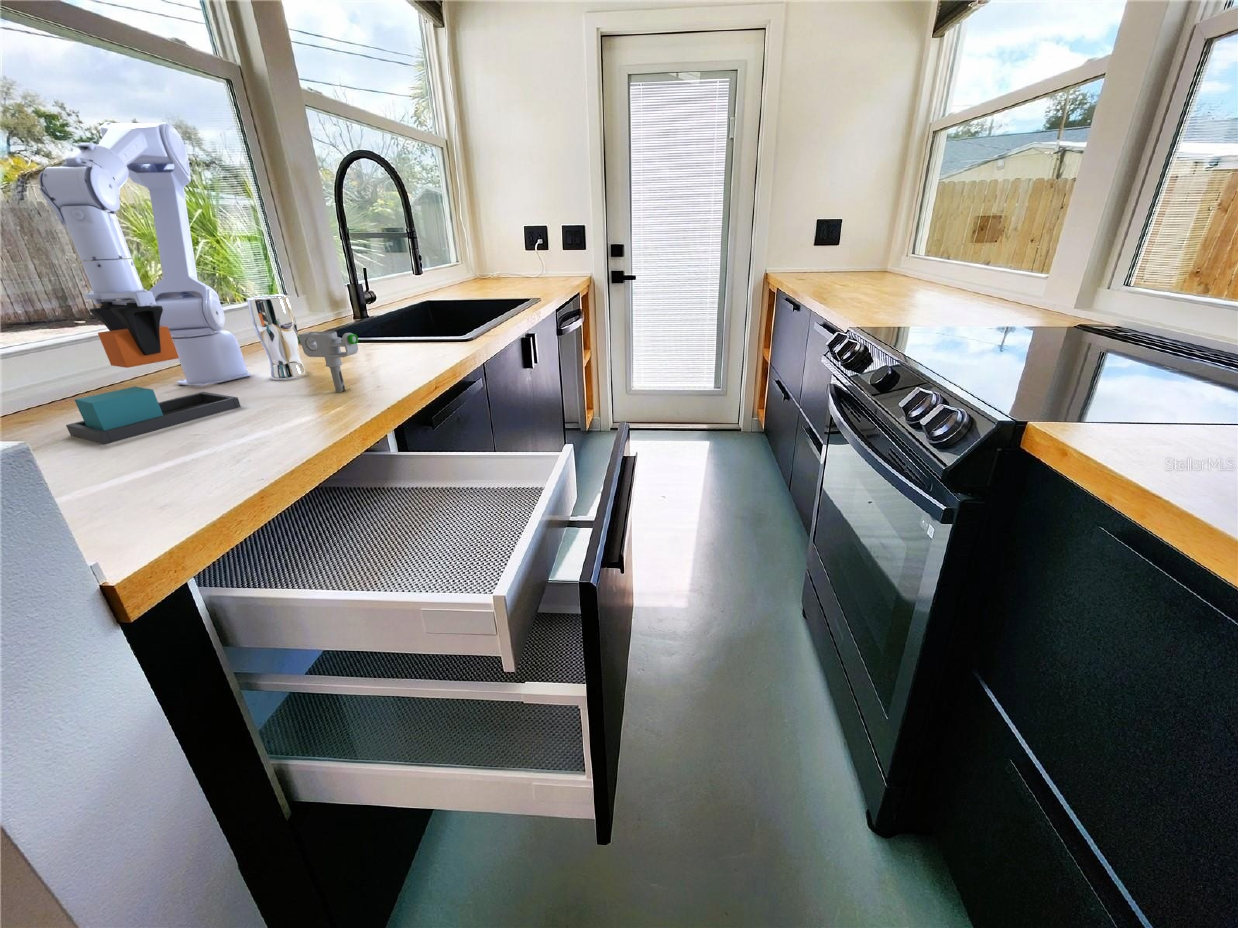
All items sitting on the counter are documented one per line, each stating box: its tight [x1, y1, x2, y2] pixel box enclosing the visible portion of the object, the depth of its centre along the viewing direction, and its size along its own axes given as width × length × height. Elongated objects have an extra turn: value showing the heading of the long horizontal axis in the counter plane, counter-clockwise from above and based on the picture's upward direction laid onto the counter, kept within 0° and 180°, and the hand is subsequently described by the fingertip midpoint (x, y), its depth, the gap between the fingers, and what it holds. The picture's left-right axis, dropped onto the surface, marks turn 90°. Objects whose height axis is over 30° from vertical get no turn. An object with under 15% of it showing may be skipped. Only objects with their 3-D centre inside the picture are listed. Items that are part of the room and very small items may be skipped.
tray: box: [65, 391, 241, 446], centre depth 79 cm, size 18×10×2 cm, turn 153°
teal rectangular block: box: [74, 386, 163, 431], centre depth 75 cm, size 7×5×5 cm
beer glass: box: [246, 294, 308, 381], centre depth 101 cm, size 7×7×15 cm
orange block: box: [97, 326, 179, 369], centre depth 83 cm, size 7×5×5 cm
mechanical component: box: [298, 331, 359, 394], centre depth 91 cm, size 3×10×10 cm, turn 78°
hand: (143, 352), depth 83 cm, fingers closed on orange block, 5 cm apart
